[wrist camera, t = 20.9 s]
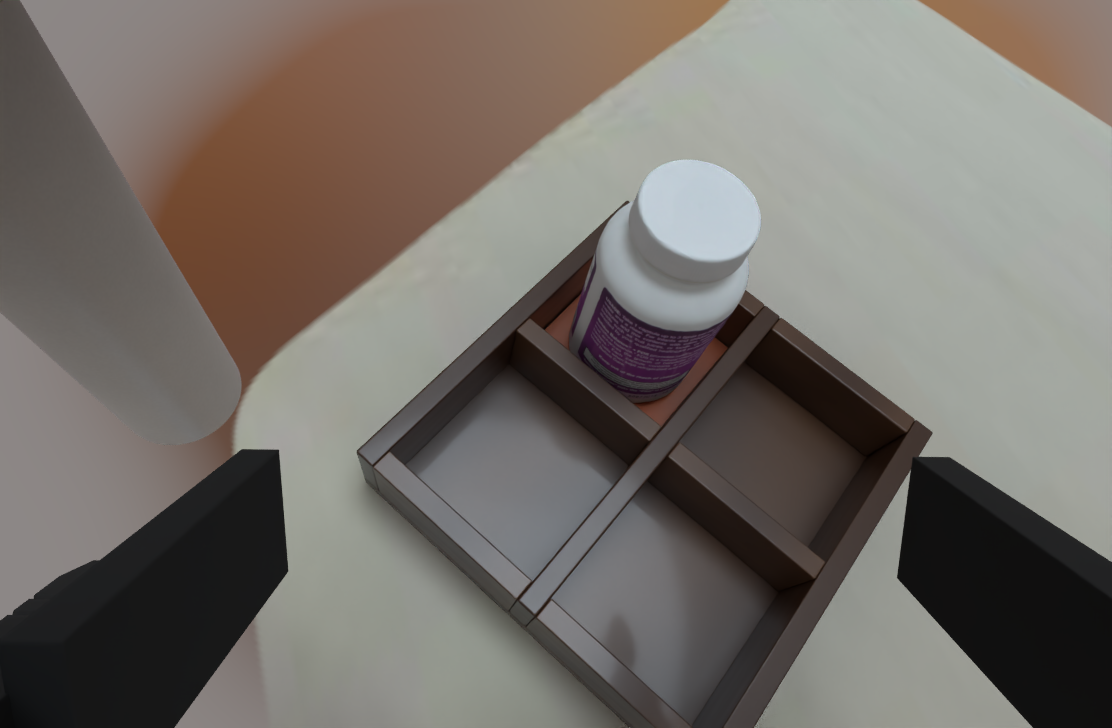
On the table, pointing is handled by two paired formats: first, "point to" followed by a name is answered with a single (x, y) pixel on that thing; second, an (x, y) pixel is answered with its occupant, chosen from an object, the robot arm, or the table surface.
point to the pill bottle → (665, 278)
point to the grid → (650, 499)
